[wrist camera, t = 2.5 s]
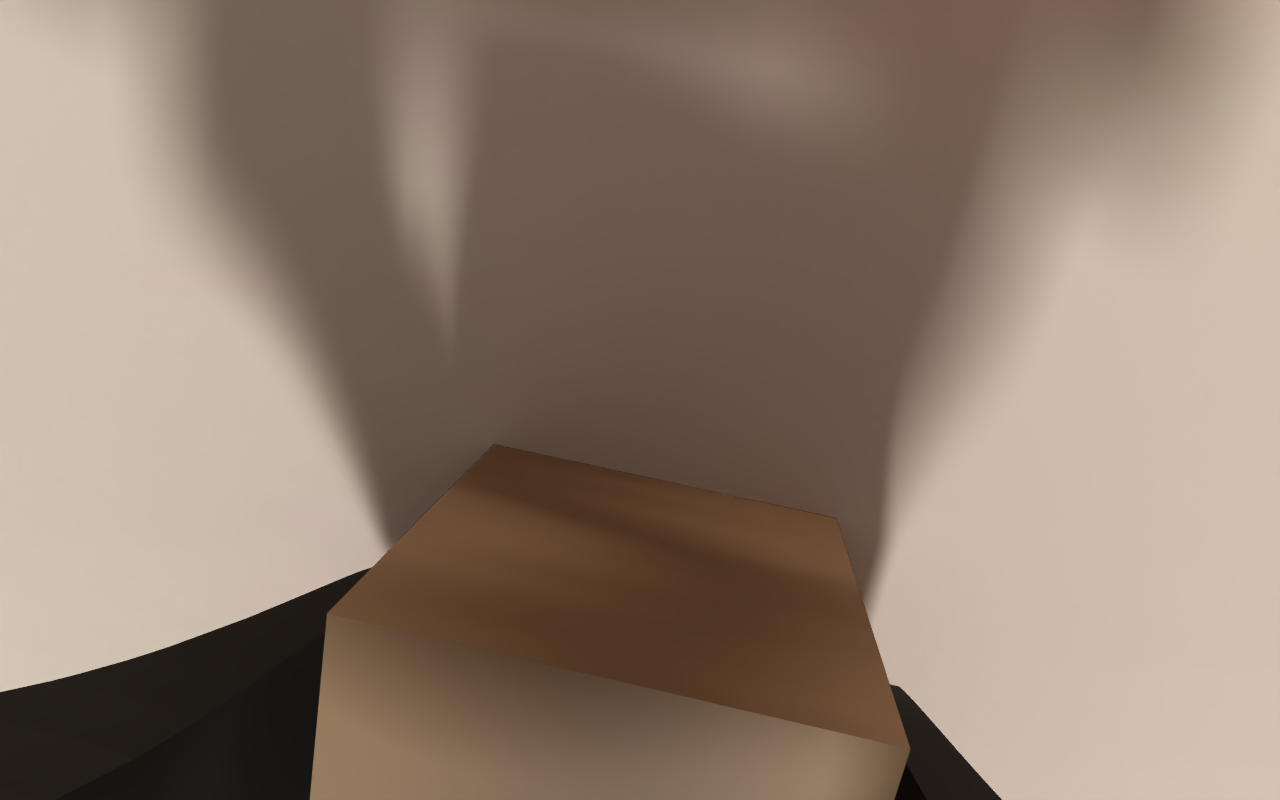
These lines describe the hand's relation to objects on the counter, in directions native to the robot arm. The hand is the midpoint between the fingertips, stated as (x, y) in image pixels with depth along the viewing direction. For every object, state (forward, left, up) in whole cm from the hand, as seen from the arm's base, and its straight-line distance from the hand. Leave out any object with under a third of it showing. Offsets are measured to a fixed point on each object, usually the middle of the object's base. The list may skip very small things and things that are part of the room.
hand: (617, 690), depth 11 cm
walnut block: (0, 0, -2) cm, 2 cm away
